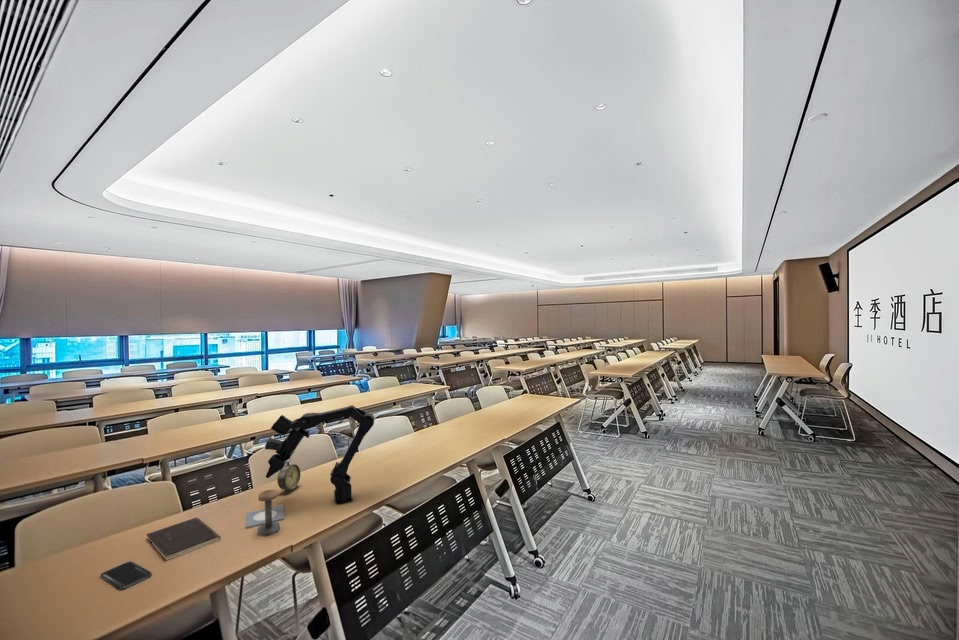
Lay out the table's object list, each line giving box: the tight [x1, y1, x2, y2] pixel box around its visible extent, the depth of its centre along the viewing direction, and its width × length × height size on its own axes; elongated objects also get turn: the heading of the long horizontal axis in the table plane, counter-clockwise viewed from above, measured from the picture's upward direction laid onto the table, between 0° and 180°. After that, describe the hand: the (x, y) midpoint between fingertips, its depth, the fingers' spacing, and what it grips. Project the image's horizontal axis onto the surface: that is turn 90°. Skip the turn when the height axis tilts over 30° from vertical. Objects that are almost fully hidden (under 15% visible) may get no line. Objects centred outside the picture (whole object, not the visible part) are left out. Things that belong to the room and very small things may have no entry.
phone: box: [100, 560, 153, 591], centre depth 122 cm, size 8×1×15 cm
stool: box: [257, 489, 281, 537], centre depth 147 cm, size 7×7×14 cm
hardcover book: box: [146, 517, 221, 561], centre depth 143 cm, size 16×23×2 cm
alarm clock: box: [276, 459, 301, 496], centre depth 183 cm, size 11×5×16 cm, turn 168°
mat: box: [245, 505, 285, 529], centre depth 158 cm, size 13×13×1 cm
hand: (269, 473), depth 166 cm, fingers open, 9 cm apart
